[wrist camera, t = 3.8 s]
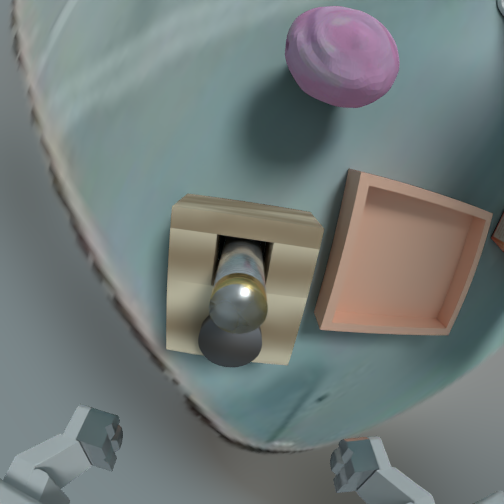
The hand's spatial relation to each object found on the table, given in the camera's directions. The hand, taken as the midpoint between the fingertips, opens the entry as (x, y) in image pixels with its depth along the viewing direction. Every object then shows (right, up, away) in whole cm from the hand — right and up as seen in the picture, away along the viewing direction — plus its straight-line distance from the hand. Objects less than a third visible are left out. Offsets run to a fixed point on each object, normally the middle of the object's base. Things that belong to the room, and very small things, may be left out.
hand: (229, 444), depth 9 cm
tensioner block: (-1, +5, +22) cm, 22 cm away
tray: (+18, +6, +22) cm, 29 cm away
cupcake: (+8, +24, +15) cm, 29 cm away
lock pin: (0, +8, +21) cm, 22 cm away
